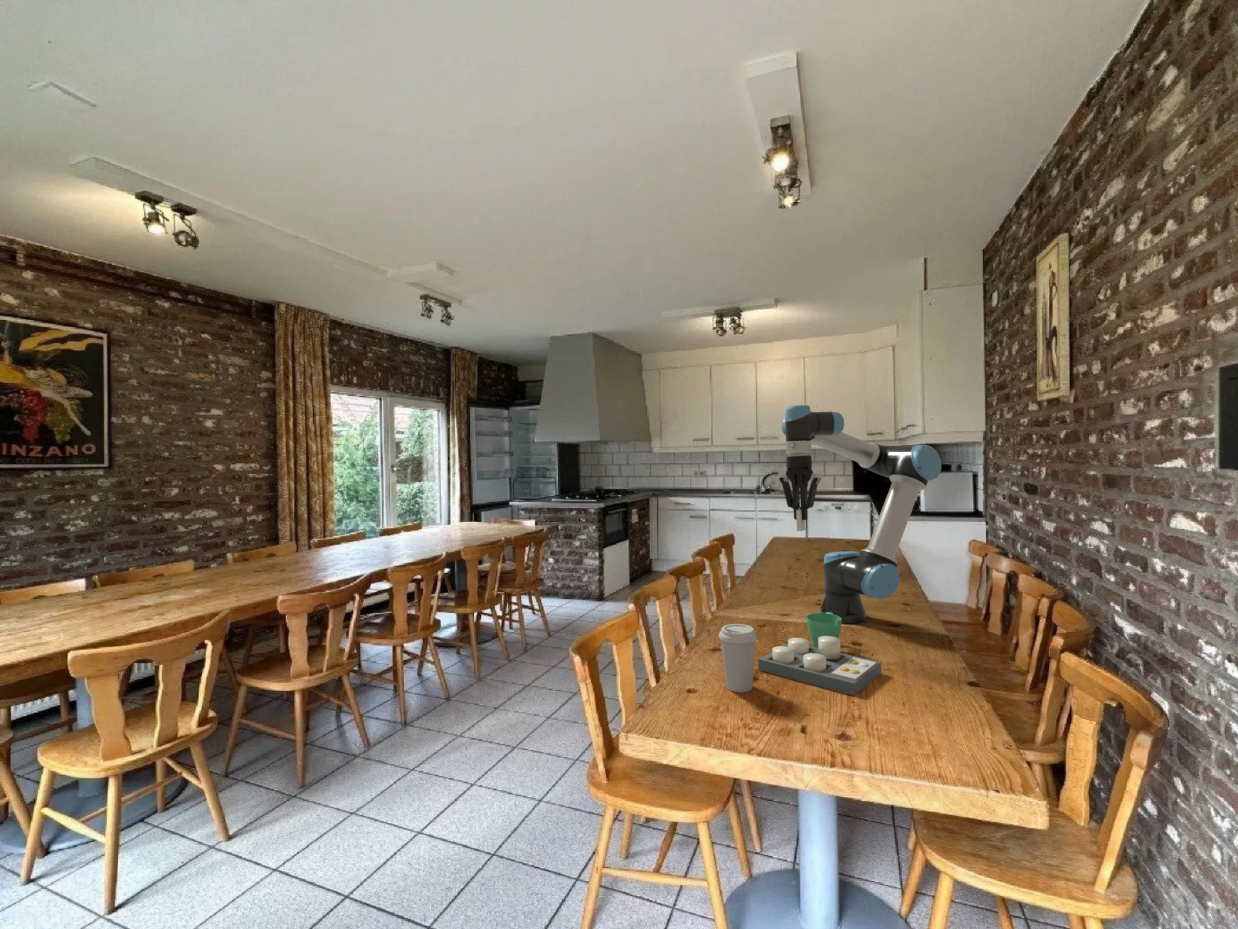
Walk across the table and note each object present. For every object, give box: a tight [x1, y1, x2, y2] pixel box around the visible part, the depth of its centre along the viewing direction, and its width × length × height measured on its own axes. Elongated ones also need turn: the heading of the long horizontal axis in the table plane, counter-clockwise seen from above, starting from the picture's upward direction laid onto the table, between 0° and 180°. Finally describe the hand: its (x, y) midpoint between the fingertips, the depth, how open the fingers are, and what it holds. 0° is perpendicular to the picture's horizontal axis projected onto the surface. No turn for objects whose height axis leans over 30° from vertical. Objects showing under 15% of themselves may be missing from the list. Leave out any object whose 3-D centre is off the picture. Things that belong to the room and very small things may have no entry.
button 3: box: [803, 653, 826, 673], centre depth 149 cm, size 6×6×4 cm
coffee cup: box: [718, 623, 758, 694], centre depth 145 cm, size 10×10×15 cm
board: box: [758, 642, 882, 697], centre depth 153 cm, size 18×26×4 cm
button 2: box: [787, 637, 810, 655], centre depth 162 cm, size 6×6×4 cm
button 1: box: [771, 645, 794, 665], centre depth 156 cm, size 6×6×4 cm
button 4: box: [818, 636, 841, 659], centre depth 156 cm, size 6×6×4 cm
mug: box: [805, 612, 842, 648], centre depth 171 cm, size 15×10×10 cm
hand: (800, 530), depth 179 cm, fingers closed
